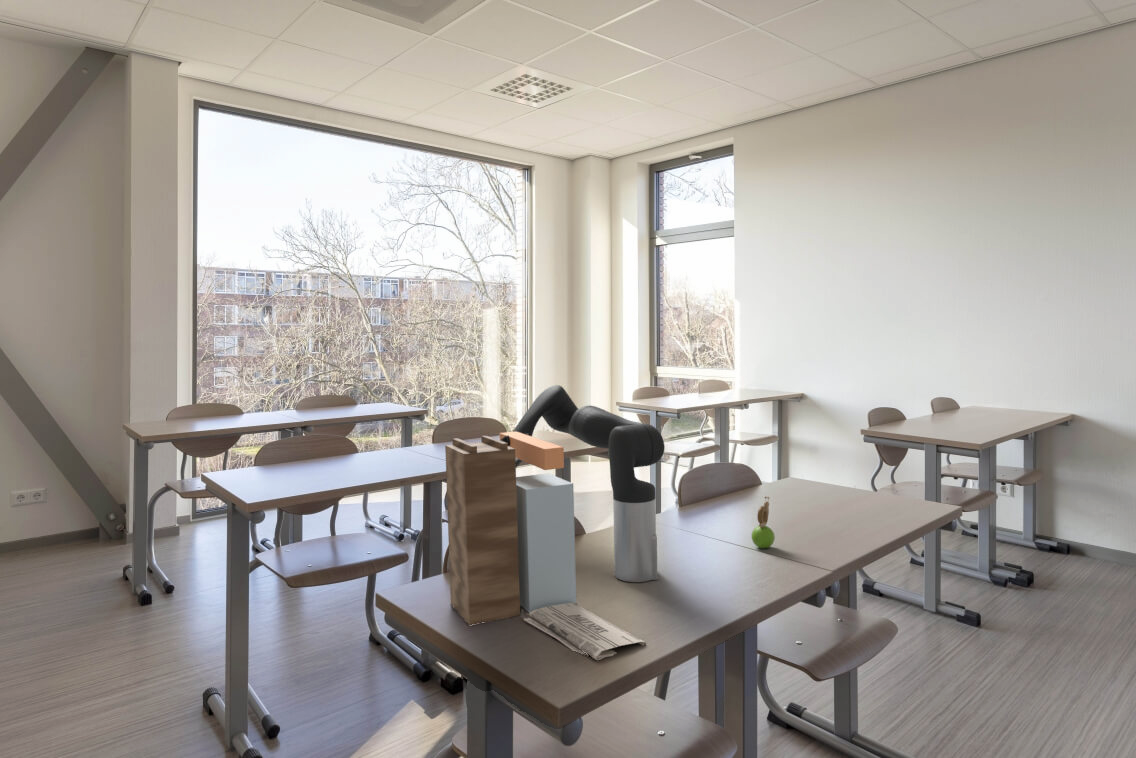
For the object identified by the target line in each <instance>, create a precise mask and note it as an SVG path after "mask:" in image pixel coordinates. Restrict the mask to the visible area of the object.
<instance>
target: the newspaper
mask: <svg viewBox="0 0 1136 758" xmlns="http://www.w3.org/2000/svg"><path fill="white" fill-rule="evenodd" d="M528 616H530V617H527V618H523V621H525V622H526V623H528V624H530V625H532V626H533V627H534V628H537V629H538V630H540V631H542V632H544V633H545V634H548V635H549V636H551V637H553V638H555V639H557V640H558V641H559V642H561V643H562V644H563V645H564V646H566V647H567V648H569V649H570V650H571V651H573V652H574V651H576V652H579V653H583V654H585V655H587V654H589V655H590V656H591V657H592V659H594V660H596V661H599V660H601V661H602V659H604V658H608V657H614V654H615V655H616V654H617V652H616V651H615V650H612V649H615V648H618V647H622V646H628V645H633V644H637V643H638V644H639V645H642V646H645V645H646V646H647V642H646V641H644V640H643V639H640V638H639V637H637V636H635V635H633V634H631V633H629V632H628V631H626V630H624V629H622V628H621V627H619V626H617V625H615V624H613V623H611V622H609V621H608V620H605V619H604V618H602V617H600V616H598V615H597V614H595V613H593V612H591V611H589V610H587V609H586V608H583V607H582V606H580V605H578V604H577V603H575V604H574V603H566V604H559V605H551V606H547V607H543V608H539V609H535V610H533V611H531V612H530V613H529V612H528ZM582 650H583V651H584V652H586V653H587V654H586V653H584V652H583V651H582ZM576 652H575V653H576ZM579 653H578V654H579ZM585 655H584V656H585ZM589 655H588V656H589ZM588 656H587V657H588ZM591 657H590V658H591Z"/></svg>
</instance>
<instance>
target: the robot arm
mask: <svg viewBox="0 0 1136 758" xmlns="http://www.w3.org/2000/svg"><path fill="white" fill-rule="evenodd" d="M541 418H543V420H544V421H545V422H546V424H547V425H548V427H550V429H553V430H555V431H557V432H561V433H564V434H567V435H570V436H572V437H574V438H576V439H578V440H580V441H582V442H583V443H585V444H587V445H589V446H591V447H595V448H600V449H608V458H609V472H610V473H609V474H610V477H609V478H610V484H611V488H612V500H613V502H612V503H613V505H612V506H613V507H612V508H613V509H612V510H613V545H614V546H613V552H614V553H613V555H614V557H613V558H614V560H613V561H614V565H613V566H614V567H613V568H614V577H615V578H616V579H618V580H620V581H624V582H629V583H643V582H649V581H653V580H654V581H656V580H658V536H657V514H656V512H657V511H656V509H657V508H656V507H657V506H656V503H657V502H656V501H657V500H656V487H655V485H654V484H652V483H651V482H648V481H644V480H640V479H638V478H636V474H635V468H641V467H642V468H644V467H649V466H653V465H654V464H657V463H658V462H659V461H660V460H661V459H662V458H663V457H664V456H663V455H664V453H665V449H666V448H665V441H664V438H663V435H662V434H661V433H660V431H659V430H658V429H657V428H656V427H655V426H653V425H652V424H649V423H644V422H638V421H633V420H629V419H627V418H624V417H622V416H620V415H617V414H615V413H613V412H609V411H608V410H606V409H602V408H600V407H599V406H595V405H584V406H582V407H580V408H578V407H577V405H576V403H575V402H574V401H573V399H572V398H571V396H570V395H569V393H568V392H567V391H566V390H565V388H564V387H563V386H561V385H559V384H555V385H552V386H549V387H548V388H546V389H544V390H543V391H542V392H541V393H539V394H538V396H537V397H536V399H535V400H534V401H533V402H532V404H531V405H530V407H529V408H528V409H527V410H526V412H525V413H524V414H523V416H522V417H521V419H520V421H518V423H517V424H516V426H515V428H514V429H513V430H512V432H519V433H522V434H525V435H528V436H531V437H533V434H534V431H535V429H536V427H537V425H538V422H539V421H540V420H541ZM499 440H500V439H499ZM500 441H503V442H506V443H508V446H510V439H509V435H507V436H505V437H504V438H502V439H501V440H500ZM522 462H523V461H522V460H520V459H517V458H516V469H517V467H519V466H520V464H521V463H522Z"/></svg>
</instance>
